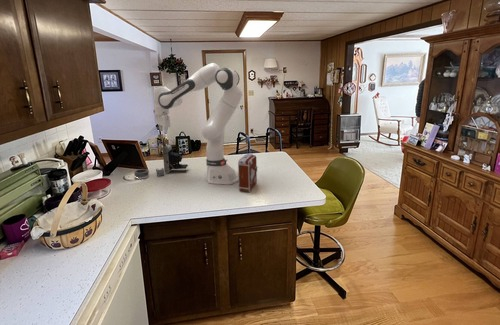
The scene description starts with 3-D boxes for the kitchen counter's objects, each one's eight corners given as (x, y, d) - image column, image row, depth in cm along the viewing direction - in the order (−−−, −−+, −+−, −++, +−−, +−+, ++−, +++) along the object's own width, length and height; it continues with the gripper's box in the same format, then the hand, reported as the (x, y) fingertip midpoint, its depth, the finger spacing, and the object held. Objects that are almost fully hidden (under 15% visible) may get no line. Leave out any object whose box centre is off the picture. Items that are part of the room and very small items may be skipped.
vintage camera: (185, 174, 203) (184, 146, 198) (164, 173, 203) (162, 146, 198) (188, 170, 213) (187, 143, 207) (168, 169, 213) (166, 143, 207)
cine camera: (261, 182, 185) (261, 152, 179) (251, 193, 167) (250, 160, 161) (247, 180, 187) (247, 151, 182) (236, 191, 170) (235, 159, 164)
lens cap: (165, 175, 201) (165, 168, 199) (161, 177, 196) (160, 170, 195) (160, 174, 203) (159, 167, 201) (155, 176, 198) (154, 169, 197)
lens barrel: (152, 175, 199) (151, 169, 198) (142, 180, 191) (141, 173, 190) (141, 174, 203) (140, 168, 201) (132, 178, 195) (131, 172, 193)
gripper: (172, 112, 182) (173, 134, 186) (161, 109, 198) (163, 129, 202) (162, 113, 179) (163, 135, 183) (152, 110, 195) (154, 130, 199)
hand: (163, 132), depth 193 cm, fingers open, 8 cm apart
